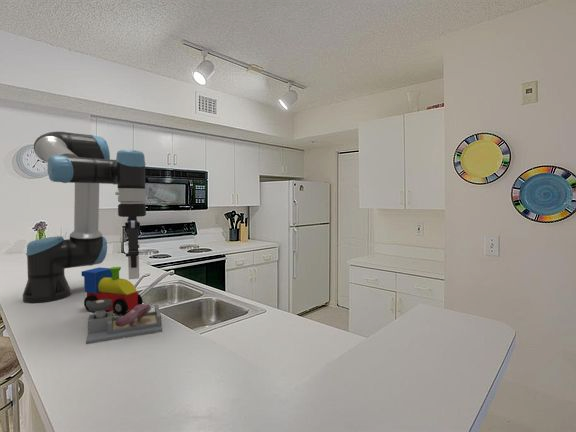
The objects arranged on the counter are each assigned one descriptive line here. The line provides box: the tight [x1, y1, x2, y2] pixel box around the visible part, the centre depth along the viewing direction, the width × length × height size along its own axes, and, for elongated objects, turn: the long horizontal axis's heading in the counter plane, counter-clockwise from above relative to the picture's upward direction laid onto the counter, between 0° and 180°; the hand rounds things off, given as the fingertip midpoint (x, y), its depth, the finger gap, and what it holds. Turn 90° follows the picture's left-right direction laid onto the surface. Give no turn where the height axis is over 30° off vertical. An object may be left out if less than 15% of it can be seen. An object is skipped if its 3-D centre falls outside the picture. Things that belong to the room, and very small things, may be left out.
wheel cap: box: [87, 299, 112, 318], centre depth 96 cm, size 6×6×6 cm
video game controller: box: [116, 302, 152, 327], centre depth 99 cm, size 10×5×7 cm
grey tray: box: [85, 304, 163, 345], centre depth 99 cm, size 16×19×4 cm
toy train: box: [81, 266, 144, 316], centre depth 115 cm, size 9×20×15 cm, turn 73°
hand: (133, 273), depth 99 cm, fingers open, 13 cm apart
